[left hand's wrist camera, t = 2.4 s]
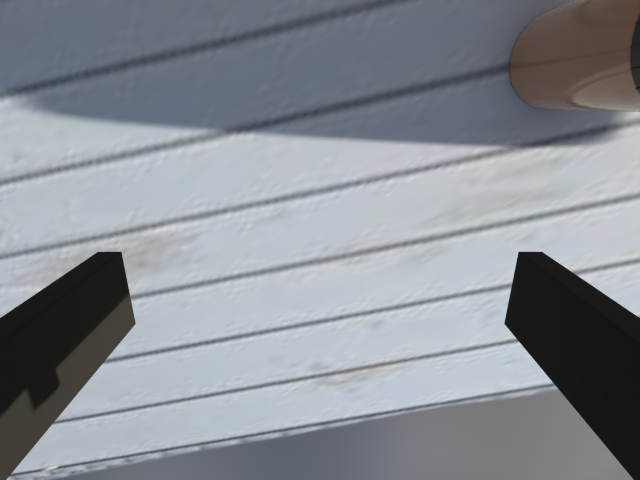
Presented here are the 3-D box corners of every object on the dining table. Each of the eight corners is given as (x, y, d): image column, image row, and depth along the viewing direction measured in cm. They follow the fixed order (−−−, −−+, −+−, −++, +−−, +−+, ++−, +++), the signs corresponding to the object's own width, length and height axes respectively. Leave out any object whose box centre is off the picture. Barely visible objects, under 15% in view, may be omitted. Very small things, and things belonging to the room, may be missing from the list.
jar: (491, 55, 35) (628, 19, 20) (574, -16, 33) (800, -120, 18) (538, 127, 38) (694, 146, 22) (619, 64, 36) (854, 35, 20)
